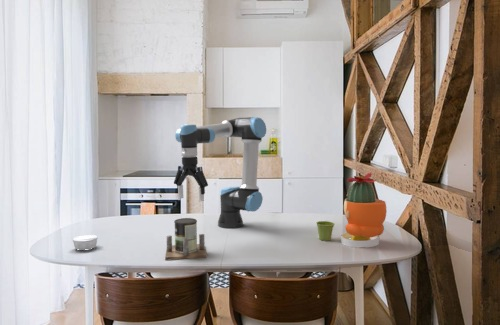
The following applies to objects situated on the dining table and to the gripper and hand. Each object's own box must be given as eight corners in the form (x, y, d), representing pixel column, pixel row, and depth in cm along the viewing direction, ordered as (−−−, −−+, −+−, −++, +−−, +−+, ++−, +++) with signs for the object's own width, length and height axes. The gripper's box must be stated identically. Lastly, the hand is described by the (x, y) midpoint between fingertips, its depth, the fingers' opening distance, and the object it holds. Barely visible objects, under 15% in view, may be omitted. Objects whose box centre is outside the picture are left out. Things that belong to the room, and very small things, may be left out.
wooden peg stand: (204, 246, 193) (204, 229, 192) (206, 257, 175) (206, 239, 174) (166, 248, 190) (166, 231, 189) (165, 259, 172) (164, 241, 171)
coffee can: (173, 253, 177) (173, 223, 175) (176, 247, 187) (175, 218, 186) (196, 253, 177) (196, 222, 176) (197, 246, 188) (197, 217, 186)
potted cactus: (333, 242, 199) (334, 174, 196) (360, 235, 213) (361, 171, 210) (368, 252, 182) (370, 177, 179) (396, 244, 195) (398, 174, 193)
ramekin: (82, 253, 182) (82, 242, 182) (68, 249, 188) (67, 238, 188) (102, 247, 192) (102, 236, 191) (88, 243, 198) (88, 233, 197)
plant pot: (335, 237, 207) (335, 221, 206) (333, 242, 198) (333, 225, 198) (317, 236, 210) (317, 220, 210) (314, 241, 201) (314, 224, 201)
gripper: (165, 156, 193) (167, 198, 195) (204, 157, 179) (205, 203, 181) (176, 155, 199) (178, 196, 201) (214, 156, 185) (215, 200, 188)
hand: (191, 199), depth 191 cm, fingers open, 13 cm apart
